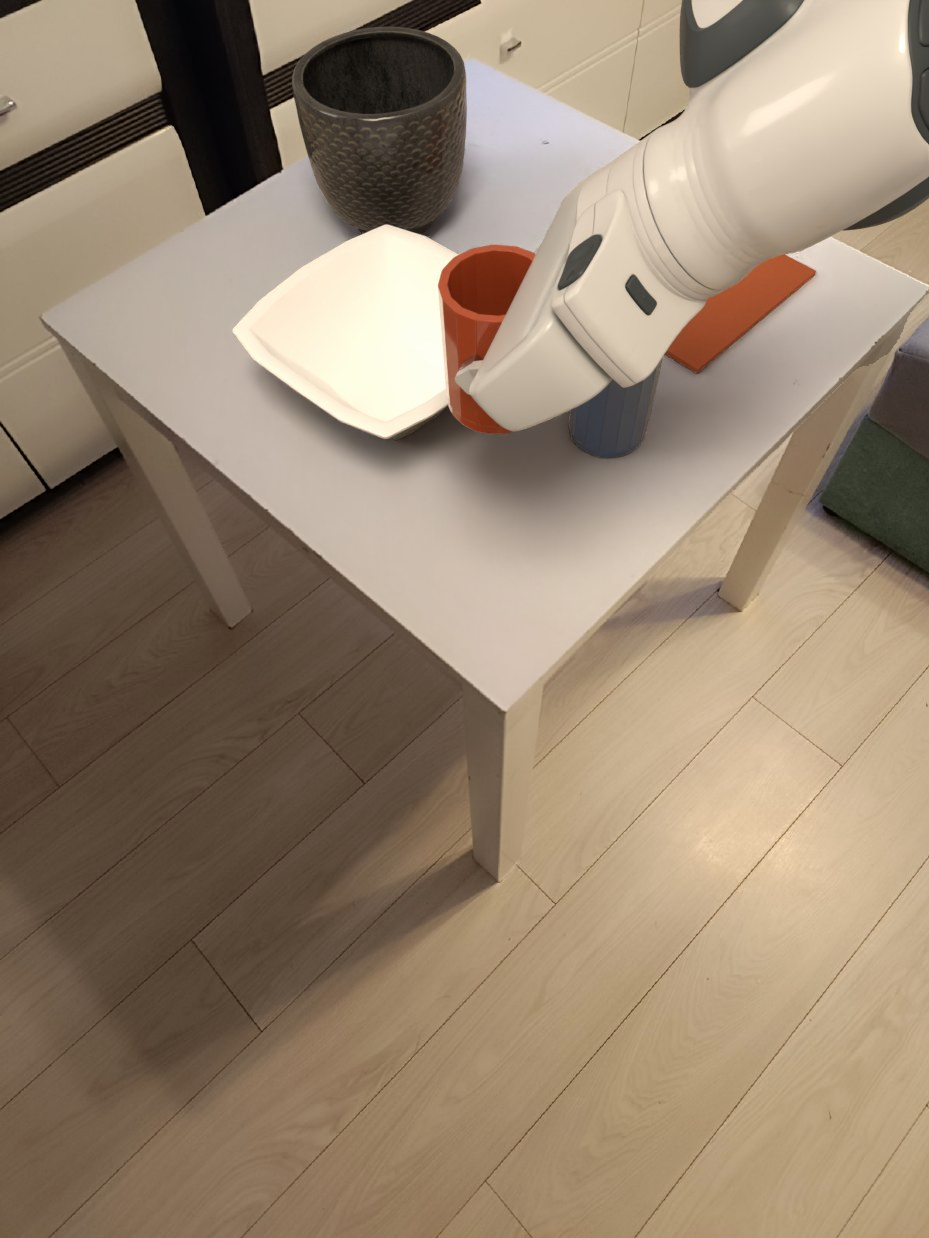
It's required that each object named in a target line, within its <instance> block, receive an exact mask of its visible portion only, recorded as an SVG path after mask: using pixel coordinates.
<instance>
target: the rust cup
mask: <svg viewBox="0 0 929 1238" xmlns="http://www.w3.org/2000/svg"><path fill="white" fill-rule="evenodd" d="M533 252H534V251H530V250H527V249H525V248H522V247H519V246H517V245H508V244H507V245H505V244H487V245H483V246H477V247H472V248H470V249H468V250H466V251H464V252H461V253H460V254H459V255H457V256H455V257H454V258H453V259H452V260H451V261H450V262H449V263H448V264H447V265H446V266H445V267H444V268H443V269H442V271H441V275H440V279H439V283H438V294H439V307H440V320H441V333H442V346H443V359H444V372H445V385H446V393H447V401H448V406H447V407H448V408H449V411H450V413H451V415H452V416H453V417H454V418H455V419H456V420H457V421H458V422H459V423H460V424H461V425H463V426H464V427H466V428H468V429H470V430H473V431H475V432H478V433H482V434H487V435H488V434H489V435H504V434H510V433H514V432H516V431H510V430H507V429H505V428H503V427H502V426H500V425H499V424H498V423H496V422H495V421H494V420H493V419H492V418H491V417H490V416H489V415H488V414H487V413H486V412H485V411H484V410H483V409H482V408H481V407H480V406H479V405H478V404H477V402H476V401H475V400H474V399H473V398H472V396H471V395H469V394H467V393H466V392H465V391H464V390H463V389H462V388H461V387H460V386H459V385H458V384H457V383H456V382H455V376H456V374H457V372H458V371H459V369H460V367H461V365H462V363H463V362H464V361H465V360H468V359H469V358H470V357H472V356H474V355H476V354H478V355H479V356H480V357H481V358H482V359H484V357H485V355H486V353H487V351H488V349H489V347H490V345H491V343H492V341H493V339H494V337H495V335H496V333H497V331H498V329H499V327H500V325H501V323H502V321H503V319H504V317H505V315H506V313H507V311H508V309H509V307H510V305H511V303H512V301H513V299H514V297H515V295H516V293H517V291H518V289H519V287H520V285H521V283H522V281H523V279H524V277H525V275H526V273H527V271H528V269H529V267H530V265H531V263H532V261H533V259H534V257H535V255H536V254H535V253H533Z"/></svg>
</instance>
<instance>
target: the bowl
mask: <svg viewBox="0 0 929 1238" xmlns="http://www.w3.org/2000/svg"><path fill="white" fill-rule="evenodd" d="M457 255H459V254H458V253H457V252H455V251H453V250H452V249H450V248H448V247H446V246H445V245H443V244H440V243H438V242H437V241H435V240H433V239H431V238H430V237H428V236H426V235H423V234H417V233H413V232H410V231H407V230H404V229H401V228H397V227H394V226H391V225H383V226H380V227H378V228H376V229H373V230H371V231H369V232H366V233H364V234H363V233H362V234H360V235H357V236H355V237H353V238H350V239H349V240H346V241H344V242H342V243H341V244H339V245H337V246H336V247H334V248H332V249H330V250H328V251H327V252H325V253H323V254H321V255H319V256H318V257H317V258H315V259H313V260H312V261H310V262H308V263H306V264H305V265H303V266H301V267H299V268H298V269H297V270H296V271H294V273H292V274H291V275H290V276H288V277H287V278H286V279H285V280H283V281H282V282H280V283H279V284H277V286H276V287H274V288H273V289H272V290H270V291H269V292H268V293H267V294H265V295H264V296H263V297H261V298H260V299H259V300H258V301H257V302H256V303H255V305H253V307H251V309H249V311H248V312H247V313H246V314H245V315H243V316H242V318H241V319H240V320H239V322H238V323H237V324H235V326H234V327H232V329H231V331H232V333H233V336H235V338H236V339H237V340H238V341H239V343H240V344H241V345H242V347H243V348H244V349H245V351H246V352H247V353H248V355H249V356H250V358H251V359H252V361H253V362H255V363H256V364H258V365H260V366H261V367H262V368H263V369H265V370H266V371H268V372H269V373H270V374H272V376H274V377H276V379H278V380H280V381H281V382H282V383H284V385H287V386H288V387H289V388H291V389H292V390H293V391H295V392H296V393H297V394H299V395H300V396H302V397H303V398H305V399H307V401H309V402H311V403H312V404H314V405H315V406H317V407H318V408H319V409H321V410H323V411H324V412H325V413H327V415H330V416H331V417H332V418H334V419H336V420H337V421H338V422H340V423H342V424H344V425H348V426H349V427H353V428H355V429H357V430H360V431H362V432H365V433H367V434H370V435H372V436H375V437H378V438H381V439H383V440H387V439H389V440H391V441H397V440H400V439H403V438H404V437H406V436H408V435H410V434H412V433H414V432H416V431H418V430H420V428H422V427H424V426H425V425H426V424H428V423H429V422H430V421H432V420H433V419H435V418H437V417H438V416H439V415H440V414H441V413H442V412H443V411H444V410H445V409H446V408H447V407H449V406H448V401H447V393H446V385H445V372H444V359H443V346H442V333H441V320H440V307H439V294H438V283H439V279H440V275H441V271H442V269H443V268H444V267H445V266H446V265H447V264H448V263H449V262H450V261H451V260H452V259H453V258H454V257H455V256H457Z"/></svg>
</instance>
